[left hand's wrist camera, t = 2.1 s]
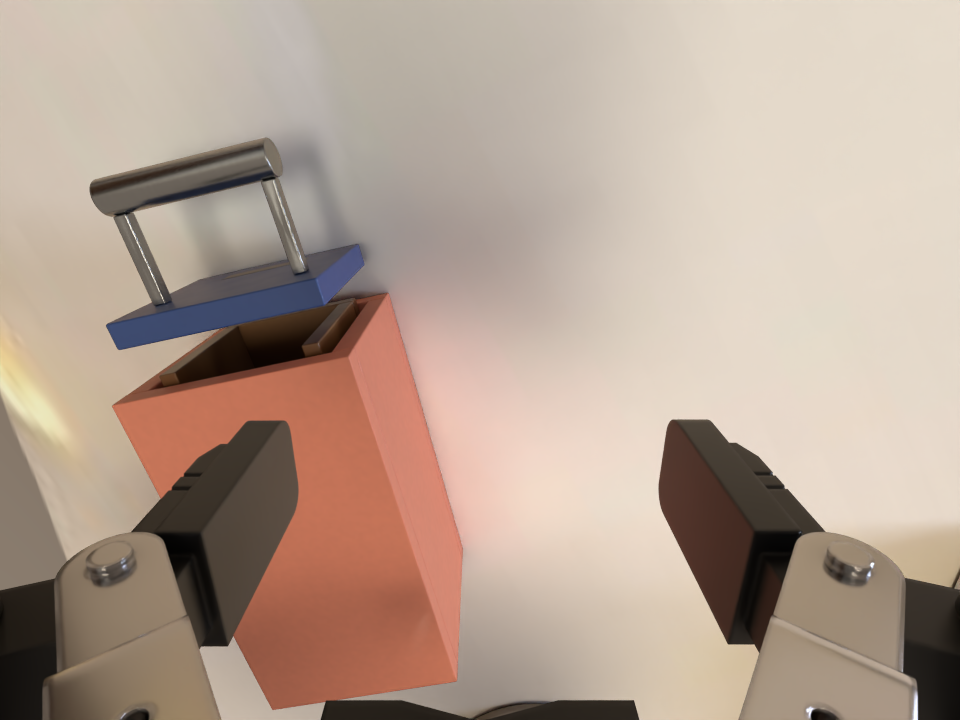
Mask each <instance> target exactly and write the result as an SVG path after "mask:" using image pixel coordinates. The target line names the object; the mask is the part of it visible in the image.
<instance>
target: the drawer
mask: <svg viewBox="0 0 960 720" xmlns="http://www.w3.org/2000/svg"><path fill="white" fill-rule="evenodd" d="M282 172H283V168H282V162H281V158H280V155H279V153H278V150H277V148H276V147H275V145H274V143H273V142H272V141H271V140H270V139H269V138H261V139H257V140H253V141H249V142H245V143H241V144H237V145H233V146H229V147H225V148H221V149H217V150H213V151H209V152H204V153H200V154H196V155H192V156H188V157H184V158H180V159H176V160H172V161H168V162H164V163H160V164H156V165H152V166H148V167H143V168H139V169H135V170H131V171H127V172H123V173H119V174H115V175H111V176H107V177H103V178H99V179H95V180H93V181H92V182H91V184H90V195H91V198H92V200H93V202H94V204H95V205H96V207H97V208H98V209H99V210H100V211H101V212H102V213H103V214H105V215H107V216H111V217H114V220H115V222H116V224H117V227H118V229H119V231H120V233H121V235H122V237H123V240H124V242H125V244H126V246H127V248H128V250H129V253H130V255H131V257H132V259H133V261H134V263H135V266H136V268H137V270H138V272H139V274H140V276H141V279H142V281H143V283H144V285H145V287H146V290H147V292H148V294H149V296H150V298H151V300H152V303H150V304H148V305H146V306H144V307H142V308H139V309H137V310H135V311H133V312H131V313H129V314H127V315H125V316H123V317H121V318H119V319H116V320H114V321H112V322H110V323H108V324H107V325H106V327H107V329H108V331H109V333H110V335H111V337H112V339H113V341H114V343H115V345H116V347H117V349H118V350H123V349H127V348H132V347H136V346H141V345H146V344H150V343H155V342H159V341H164V340H169V339H173V338H178V337H182V336H187V335H192V334H196V333H201V332H205V331H210V330H215V329H219V328H224V327H227V328H226V329H224V330H223V331H221V332H220V333H218V334H217V335H216V336H214V337H213V338H211V339H210V340H209V341H207V342H206V343H204V344H203V345H202V346H200V347H199V348H197V349H196V350H195V351H193V352H192V353H190V354H189V355H188V356H186V357H185V358H184V359H182V360H181V361H179V362H178V363H177V364H175V365H174V366H172V367H171V368H170V369H168V370H167V371H165V372H164V373H163V374H161V375H160V376H159V378H160V380H161V382H162V384H163V386H164V388H165V387H169V386H174V385H179V384H184V383H189V382H193V381H198V380H203V379H208V378H212V377H217V376H222V375H227V374H231V373H236V372H241V371H246V370H251V369H255V368H260V367H265V366H270V365H274V364H279V363H284V362H289V361H293V360H298V359H303V358H308V357H312V356H317V355H322V354H327V353H332V351H333V350H334V349H335V347H336V346H337V344H338V343H339V342H340V340H341V339H342V337H343V336H344V335H345V333H346V332H347V330H348V329H349V328H350V326H351V325H352V323H353V322H354V321H355V319H356V318H357V316H358V315H359V314H360V311H359V308H358V305H357V302H356V299H355V298H350V299H346V300H341V301H336V302H332V303H328V302H329V301H330V300H331V299H332V297H333V296H334V295H335V294H336V293H337V292H338V291H339V290H340V289H341V288H342V287H343V286H344V285H345V284H346V283H347V282H348V281H349V280H350V279H351V278H352V277H353V276H354V275H355V274H356V273H357V272H358V271H359V270H360V269H361V268H362V267H363V266H364V261H363V258H362V255H361V251H360V248H359V245H358V244H355V245H351V246H346V247H342V248H338V249H333V250H329V251H324V252H320V253H315V254H311V255H307V256H305V255H304V252H303V249H302V246H301V243H300V240H299V237H298V234H297V231H296V229H295V226H294V223H293V220H292V217H291V214H290V211H289V208H288V205H287V202H286V199H285V196H284V193H283V190H282V187H281V184H280V182H279V179H278V177H280V176H281V175H282ZM261 181H262V182H261ZM257 182H261V184H262V187H263V190H264V192H265V195H266V198H267V201H268V204H269V207H270V209H271V212H272V215H273V218H274V221H275V224H276V226H277V229H278V232H279V235H280V238H281V241H282V243H283V246H284V249H285V252H286V255H287V258H288V260H284V261H280V262H276V263H271V264H267V265H262V266H258V267H253V268H249V269H245V270H240V271H236V272H231V273H227V274H222V275H218V276H214V277H209V278H205V279H200V280H198V281H196V282H194V283H192V284H190V285H188V286H185V287H183V288H181V289H179V290H177V291H175V292H173V293H171V294H169V291H168V289H167V287H166V285H165V282H164V280H163V278H162V276H161V273H160V271H159V269H158V267H157V264H156V262H155V260H154V258H153V255H152V253H151V251H150V249H149V246H148V244H147V242H146V240H145V237H144V235H143V233H142V231H141V228H140V226H139V224H138V222H137V219H136V217H135V215H134V213H131V212H135V211H140V210H144V209H148V208H152V207H156V206H161V205H165V204H169V203H173V202H177V201H181V200H186V199H190V198H194V197H198V196H202V195H207V194H211V193H215V192H219V191H223V190H227V189H232V188H236V187H240V186H244V185H248V184H253V183H257Z"/></svg>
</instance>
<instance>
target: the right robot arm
mask: <svg viewBox="0 0 960 720" xmlns="http://www.w3.org/2000/svg"><path fill="white" fill-rule="evenodd" d="M539 705H543V704H523V705H515V706H509V707H505V708H501V709H498V710H495V711H492V712H489V713H487V714H484V715H482V716H480V717H478V718H476V719H475V720H486V719H491V718H494V717H498V716H502V715H506V714H509V713H513V712H517V711H521V710H524V709H528V708H532V707H536V706H539Z"/></svg>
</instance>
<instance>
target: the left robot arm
mask: <svg viewBox="0 0 960 720" xmlns="http://www.w3.org/2000/svg"><path fill="white" fill-rule="evenodd" d="M298 494H299V486H298V478H297V471H296V464H295V458H294V451H293V444H292V438H291V431H290V427H289V425H288V423H287V422H286V421H284V420H250V421H247V422H246V423H245V424H244V425H243V426H242V427H241V428H240V430H239V431H238V432H237V433H236V434H235V435H234V437H233V438H232V439H231V440H230V441H229V443H228V444H219V445H218V446H216V447H215V448H213V449H211V450H210V451H208V452H206V453H205V454H203V455H201V456H200V457H198V458H197V459H196V460H195V462H194V463H193V464H192V465H191V466H190V467H189V468H188V469H187V470H186V472H185V473H184V476H183V477H180V478H179V479H178V480H177V482H176V483H175V484H174V485H173V486H172V490H168V492H167V493H166V494H165V495H164V496H163V497H162V498H161V499H160V500H159V502H158V503H157V504H156V505H155V506H154V507H153V508H152V509H151V510H150V512H149V513H148V514H147V515H146V516H145V517H144V518H143V519H142V521H141V522H140V523H139V524H138V525H137V526H136V527H135V528H134V529H133V531H132V532H131V533H124V534H120V535H116V536H112V537H109V538H106V539H104V540H101V541H99V542H96V543H94V544H92V545H90V546H88V547H87V548H85V549H83V550H82V551H80V552H79V553H77V554H76V555H74V556H73V557H72V558H71V559H70V560H68V561H67V562H66V563H65V564H64V565H63V567H62V568H61V569H60V570H59V572H58V573H57V576H56V578H55V579H51V580H47V581H42V582H38V583H33V584H28V585H24V586H19V587H14V588H10V589H5V590H0V720H221V717H220V714H219V710H218V707H217V704H216V701H215V698H214V695H213V691H212V688H211V685H210V682H209V679H208V675H207V672H206V669H205V666H204V663H203V660H202V656H201V653H200V650H199V649H200V647H201V646H228V645H229V643H230V641H231V639H232V637H233V635H234V633H235V631H236V629H237V627H238V625H239V623H240V621H241V619H242V617H243V615H244V613H245V611H246V609H247V607H248V605H249V603H250V601H251V599H252V597H253V595H254V593H255V591H256V589H257V587H258V585H259V583H260V581H261V579H262V577H263V575H264V573H265V571H266V569H267V567H268V565H269V563H270V561H271V559H272V557H273V555H274V553H275V551H276V549H277V547H278V545H279V543H280V541H281V539H282V537H283V535H284V534H285V532H286V530H287V528H288V526H289V524H290V522H291V520H292V518H293V516H294V513H295V511H296V507H297V503H298ZM659 500H660V505H661V509H662V512H663V514H664V516H665V518H666V520H667V522H668V524H669V526H670V528H671V530H672V532H673V534H674V536H675V538H676V540H677V542H678V544H679V546H680V548H681V550H682V552H683V554H684V556H685V558H686V560H687V562H688V565H689V567H690V569H691V571H692V573H693V575H694V577H695V579H696V581H697V583H698V585H699V587H700V589H701V591H702V593H703V595H704V597H705V599H706V601H707V603H708V605H709V607H710V609H711V611H712V613H713V615H714V617H715V619H716V621H717V623H718V625H719V627H720V629H721V631H722V633H723V635H724V637H725V639H726V641H727V643H728V644H755V646H756V648H757V650H758V652H759V656H758V660H757V663H756V666H755V669H754V672H753V675H752V679H751V682H750V685H749V688H748V691H747V695H746V698H745V701H744V704H743V707H742V710H741V714H740V717H739V720H960V590H959V589H954V588H950V587H945V586H940V585H936V584H931V583H926V582H922V581H917V580H912V579H908V578H904V576H903V573H902V572H901V570H900V569H899V568H898V566H897V565H896V564H895V563H894V562H893V561H892V560H890V559H889V558H888V557H887V556H886V555H884V554H883V553H881V552H880V551H878V550H877V549H875V548H873V547H872V546H870V545H868V544H866V543H864V542H861V541H859V540H856V539H854V538H851V537H848V536H844V535H840V534H836V533H829V532H825V531H824V530H823V528H822V527H821V526H820V525H819V524H818V523H817V522H816V521H815V519H814V518H813V517H812V516H811V515H810V514H809V513H808V512H807V510H806V509H805V508H804V507H803V506H802V505H801V504H800V503H799V501H798V500H797V499H796V498H795V497H794V496H793V495H792V494H791V492H790V491H789V490H788V489H785V488H784V485H783V484H782V482H781V481H780V480H779V479H778V478H777V477H776V476H773V472H772V471H771V470H770V469H769V468H768V467H767V466H766V464H765V463H764V462H763V461H762V460H761V459H760V458H759V457H758V456H757V455H755V454H754V453H752V452H750V451H749V450H747V449H745V448H744V447H742V446H740V445H739V444H737V443H729V442H728V441H727V440H726V439H725V437H724V436H723V435H722V434H721V433H720V431H719V430H718V429H717V428H716V427H715V425H714V424H713V423H712V422H711V421H710V420H671V421H670V422H669V424H668V427H667V431H666V438H665V445H664V451H663V458H662V465H661V472H660V479H659ZM321 720H474V719H469V718H466V717H462V716H458V715H454V714H451V713H447V712H443V711H439V710H436V709H432V708H428V707H424V706H421V705H417V704H413V703H409V702H406V701H402V700H326V703H325V706H324V710H323V713H322V717H321ZM486 720H639V717H638V713H637V710H636V706H635V703H634V700H558V701H554V702H551V703H547V704H543V705H539V706H536V707H532V708H528V709H524V710H521V711H517V712H513V713H509V714H506V715H502V716H498V717H494V718H491V719H486Z"/></svg>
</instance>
